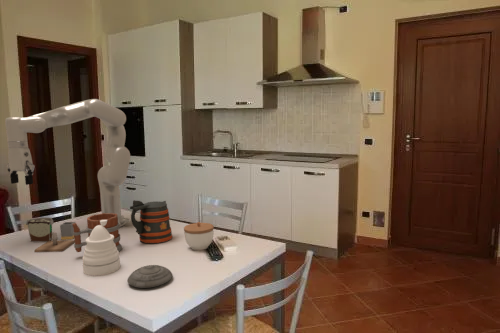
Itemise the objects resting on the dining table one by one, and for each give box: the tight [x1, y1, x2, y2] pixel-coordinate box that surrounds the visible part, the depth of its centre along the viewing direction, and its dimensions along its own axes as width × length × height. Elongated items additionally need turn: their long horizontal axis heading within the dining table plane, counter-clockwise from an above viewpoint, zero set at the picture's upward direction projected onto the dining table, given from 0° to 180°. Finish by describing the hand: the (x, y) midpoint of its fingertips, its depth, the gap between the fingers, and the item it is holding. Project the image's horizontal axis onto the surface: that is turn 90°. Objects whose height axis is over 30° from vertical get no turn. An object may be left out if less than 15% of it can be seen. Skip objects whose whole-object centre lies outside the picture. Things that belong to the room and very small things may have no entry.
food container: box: [25, 217, 54, 243], centre depth 179 cm, size 12×6×10 cm, turn 84°
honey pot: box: [82, 220, 121, 277], centre depth 142 cm, size 13×13×18 cm
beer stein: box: [129, 200, 173, 244], centre depth 174 cm, size 19×15×20 cm
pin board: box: [34, 231, 75, 253], centre depth 168 cm, size 12×12×7 cm
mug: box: [72, 212, 123, 253], centre depth 160 cm, size 14×19×15 cm
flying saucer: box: [127, 264, 173, 289], centre depth 131 cm, size 15×15×6 cm
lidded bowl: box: [183, 221, 215, 251], centre depth 163 cm, size 13×13×11 cm
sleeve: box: [59, 221, 77, 241], centre depth 181 cm, size 5×5×7 cm
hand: (22, 183), depth 170 cm, fingers open, 9 cm apart
